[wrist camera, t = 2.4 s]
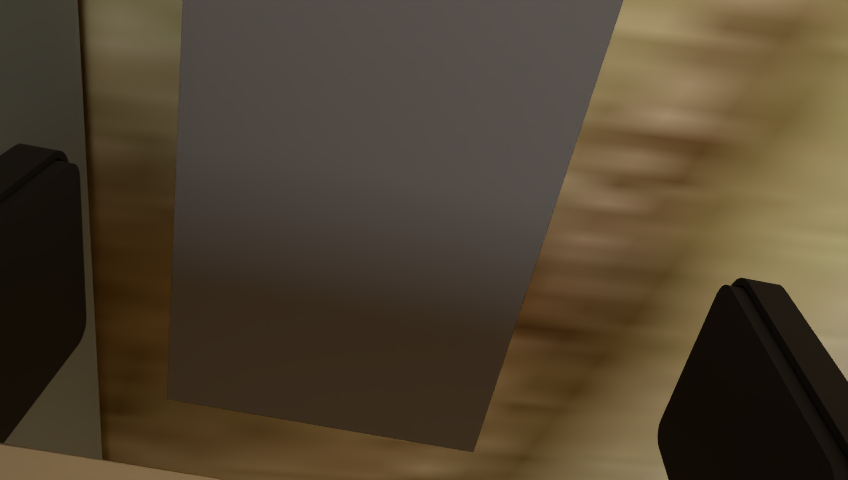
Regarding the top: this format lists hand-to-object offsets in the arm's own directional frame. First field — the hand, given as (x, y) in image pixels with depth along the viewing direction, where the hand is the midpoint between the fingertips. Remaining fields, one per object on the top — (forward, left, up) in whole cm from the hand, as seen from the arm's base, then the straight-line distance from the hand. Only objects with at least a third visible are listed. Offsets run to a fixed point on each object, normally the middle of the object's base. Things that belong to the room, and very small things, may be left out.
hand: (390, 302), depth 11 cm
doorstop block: (-1, -1, -8) cm, 8 cm away
